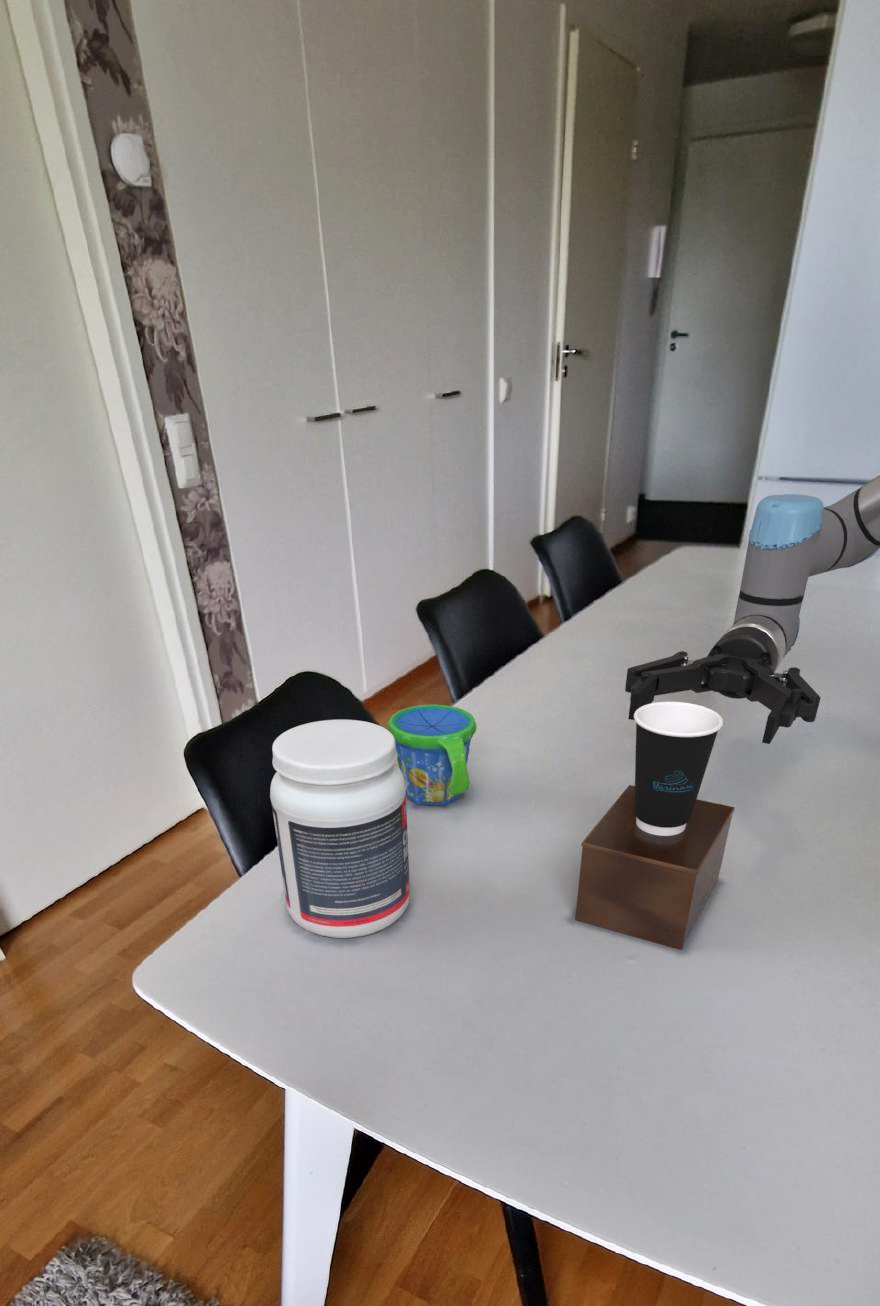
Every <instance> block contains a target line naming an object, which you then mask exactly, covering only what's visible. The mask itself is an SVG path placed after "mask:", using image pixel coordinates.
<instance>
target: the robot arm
mask: <svg viewBox="0 0 880 1306" xmlns="http://www.w3.org/2000/svg"><path fill="white" fill-rule="evenodd" d="M879 550H880V474H879V475H877V476H876V477H874V478H872V479H871V480H869V481H868V482H866V483H864V484H863V485H862V486H860V487H859V488H857V489H855V490H854V491H852V492H850V493H849V494H847V495H846V496H844V497H842V498H840V500H838V501H836V502H834V503H832V504H830V505H826V506H825V505H824V502H823V501H822V499H820V498H819V497H816V496H812V495H807V494H793V493H789V494H788V493H786V494H784V493H783V494H772V495H767V496H764V497H763V498H762V499H761V500H760V501H759V502H758V504H757V505H756V509H755V513H754V516H753V521H752V525H751V529H750V530H749V533H748V543H747V547H746V554H745V558H744V559H745V560H744V564H743V571H742V577H741V582H740V588H739V594H738V597H737V602H736V608H735V613H734V618H733V622H732V625H731V626H730V627H729V628H728V629H727V630H726V631H725V632H724V633H723V635H722V636H721V637H720V638H719V639H718V640H717V642H716V643H715V644H714V645H713V646H712V648H711V649H710V651H709V653H708V654H707V656H705V657H701V658H700V659H699V658H698V659H694V660H691V659H689V653H688V652H687V651H683V650H682V651H678V652H676V653H675V654H672V656H668V657H664V658H661V659H657V660H653V661H649V662H646V663H645V662H644V663H643V664H639V665H635V666H630V667H628V668H627V671H626V679H625V688H624V692H626V693H628V694H630V695H629V697H630V698H629V701H630V702H629V711H628V718H627V719H628V720H631V721H635V720H634V713H635V711H636V710H637V709H639V708H640V707H642V706H644V705H647V704H651V703H654V701H655V696H662V695H667V694H668V695H669V694H674V693H680V692H686V691H692V692H694V693H695V694H700V693H701V694H702V693H707V692H713V693H718V694H719V695H722V696H723V697H726V698H729V699H735V700H742V699H747V700H748V701H749V702H751V703H753V702H755V703H756V702H758V703H759V704H761V705H762V706H764V707H765V708H767V709H768V710H770V711H769V713H768V715H767V719H766V723H765V727H764V732H763V736H762V741H761V743H762V744H768V745H771V744H772V741H773V739H774V738H775V736H776V734H777V732H778V730H779V728H780V727H781V728H788V729H789V728H791V727H792V725H793V723H794V722H795V721H796V718H801V720H802V721H804V722H806V723H814V722H815V721H816V718H817V714H818V710H819V707H820V704H821V703H820V702H821V699H822V698H821V696H820V694H818V693H817V692H816V691H815V690H814V689H813V687H812V686H811V685H810V684H809V683H808V682H807V681H806V680H805V679H804V678H803V677H802V676H801V675H800V674H801V669H800V668H798V667H789V668H788V670H783V671H782V673H779V672H776V671H777V669H778V667H779V666H780V665H781V664H782V662H783V660H784V658H785V657H786V655H788V654H789V652H790V651H791V650H792V648H793V646H795V644H796V642H797V639H798V636H799V633H800V627H801V620H800V619H801V618H800V614H801V609H802V606H803V601H804V597H805V593H806V589H807V585H808V580H809V578H810V577H813V576H817V575H821V574H824V573H827V572H831V571H836V570H840V569H847V568H851V567H854V566H856V565H858V564H860V563H863V562H865V561H866V560H868V559H870V558H872V557H873V556H874V555H876V553H877V552H879Z"/></svg>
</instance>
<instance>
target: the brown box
mask: <svg viewBox="0 0 880 1306" xmlns="http://www.w3.org/2000/svg"><path fill="white" fill-rule="evenodd" d="M634 802H635V785H631V784H629V785H628V786H627V787H626V788H625V790H624V791H623V792H622V793H621V794H620V796H619V797H618V798H617V799H616V801H615V802H613V804H612V805H611V807H610V808H609V809H608V810H607V811H606V813H605V814H604V815H603V816H602V817H601V818H600V820H599V821H598V822H597V823H596V825H595V826H594V827H593V828H592V829H591V830H590V832H589V833H588V834H587V836H586V837H585V838H584V839H583V840H582V842H581V843H580V846H581V858H580V860H581V861H580V868H579V878H578V888H577V897H576V907H575V915H574V920H575V921H578V922H582V923H584V924H588V925H592V926H595V927H598V928H602V929H604V930H609V931H613V932H617V933H620V934H623V935H628V936H631V937H634V938H638V939H641V940H644V941H648V942H652V943H655V944H658V945H662V946H666V947H670V948H672V949H676V950H680V951H682V950H683V949H684V947H685V944H686V943H687V941H688V940H689V937H690V936H691V934H692V931H693V930H694V927H695V925H696V924H697V922H698V920H699V918H700V916H701V915H702V913H703V911H704V909H705V907H706V905H707V903H708V901H709V899H710V897H711V895H712V894H713V891H714V889H715V887H716V886H717V884H718V882H719V878H720V872H721V867H722V864H723V859H724V854H725V850H726V845H727V842H728V836H729V832H730V828H731V827H730V826H731V822H732V818H733V814H734V812H735V809H736V806H730V805H727V804H721V803H716V802H713V801H707V800H702V799H699V798H697V799H696V802H695V806H694V809H693V812H692V815H691V818H690V820H689V822H688V823H687V824H686V827H685V829H684V831H683V832H681V833H679V834H676V835H671V836H659V835H654V834H650V833H647V832H645V831H643V830H641V829H640V828H639V827H638V826H637V824H636V816H635V813H634Z"/></svg>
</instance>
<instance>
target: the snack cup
mask: <svg viewBox="0 0 880 1306" xmlns="http://www.w3.org/2000/svg"><path fill="white" fill-rule="evenodd" d="M387 730H388V731H389V732H390V733H391V734H392V735H393V736H394V738H395V744H396V751H397V760H396V762H397V766H398V767H399V768H400V770H401V771H402V773H403V776H404V779H405V783H406V799H408V800H410V801H413V802H414V803H415V804H416V805H417V806H421V805H425V806H431V807H434V806H447V805H448V804H449V803H452V802H454V801H456V800H457V799H458V798H460V796H461V795H462V794H463V793H465V792H466V791H467V790H468V789H469V787H470V777H469V772H468V761H469V755H470V746H471V741H472V738H473V736H474V735H475V733H476V731H477V723H476V719H475V717H474V716H473V715H472V714H471V713H470V712H469V711H467V710H465V709H463V708H459V707H456V706H452V705H445V704H419V705H414V706H409V707H406V708H402V709H400V710H398V711H396V712H395V713H394V714H392V716H391V717H390V718H389V720H388V722H387Z"/></svg>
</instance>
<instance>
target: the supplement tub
mask: <svg viewBox="0 0 880 1306" xmlns="http://www.w3.org/2000/svg"><path fill="white" fill-rule="evenodd" d="M271 748H272V749H271V751H272V760H271V761H272V767H273V769H274V770H275V771H276V772H275V774H274V775H273V777H272V779H271V782H270V788H269V789H270V790H269V792H270V793H269V798H270V802H271V808H272V815H273V822H274V828H275V835H276V843H277V847H278V856H279V857H278V858H279V862H280V870H281V877H282V883H283V891H284V897H285V907H286V909H287V911H288V913H289V915H290V917H291V919H292V920H293V921H294V922H295V923H296V924H297V925H298V926H300V928H303V929H304V930H306V931H308V932H310V933H313V934H316V935H318V936H323V937H327V938H337V939H349V938H350V939H351V938H358V937H363V936H367V935H371V934H373V933H377V932H379V931H381V930H384V929H386V928H388V927H389V926H391V925H392V924H394V923H395V922H397V921H398V920H399V919H400V918H401V917H402V916H403V914H404V913H405V912H406V910H407V908H408V906H409V903H410V900H411V887H410V886H411V885H410V861H409V837H408V814H407V812H408V810H407V809H408V808H407V797H406V783H405V779H404V776H403V773H402V771H401V770H400V768H399V767H398V764H397V763H396V762H397V751H396V744H395V738H394V736H393V735H392V734H391V733H390V731H389V729H388V728H387V729H386V728H385V727H383V726H381V725H379V724H377V723H376V724H375V723H373V722H369V721H364V720H357V719H325V720H317V721H312V722H308V723H304V724H300V725H297V726H295V727H292V728H290V729H288V730H286V731H284V732H282V733H281V734H280V735H278V736H277V737H276V738H275V740H274V741H273V743H272V747H271Z"/></svg>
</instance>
